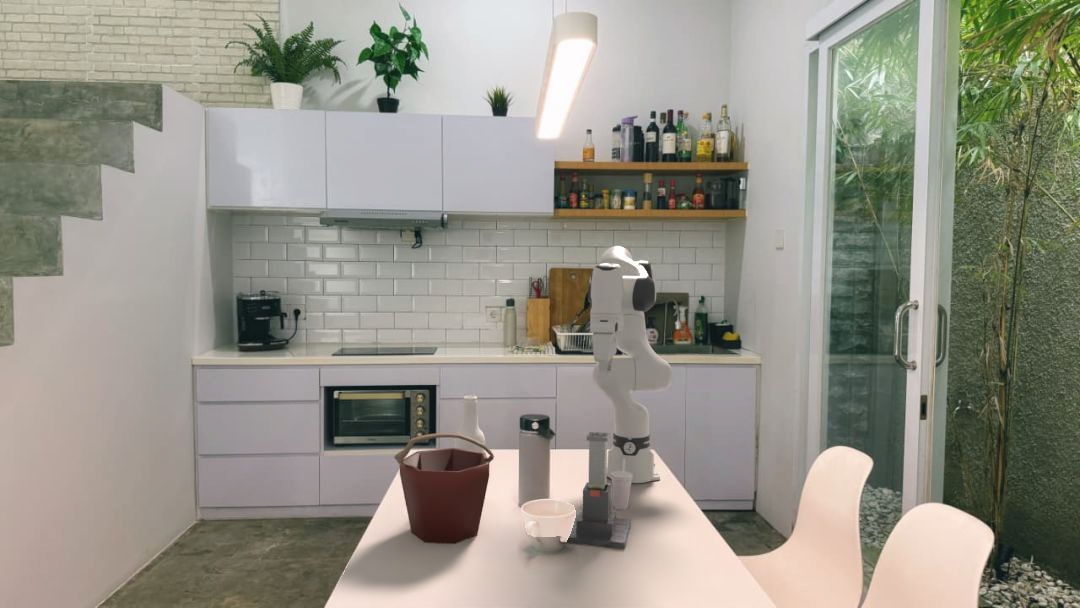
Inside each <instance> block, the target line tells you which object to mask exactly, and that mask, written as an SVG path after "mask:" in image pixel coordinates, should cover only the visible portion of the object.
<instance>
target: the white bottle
mask: <svg viewBox="0 0 1080 608" xmlns="http://www.w3.org/2000/svg"><path fill="white" fill-rule="evenodd" d="M462 403H463V408H462V409H463V410H462V418H461V419H462V420H461V426H460V428H459V430H458V431H457V434H462V435H465V436H468V437H470V438H473V439H475V440H477V441H479V442H481V443H483V444H485V445H486V438H485V435H484V433H483V430H481V429H480V428H479V420H478V406H477V403H478V397H477V396H476V395H465V396H463V401H462ZM454 448H458V449H464V450H470V451H476V452H482V453H486V451H485V450H484V449H483V448H481V447H479V446H477V445H475V444H474V443H471V442H469V441H466V440H463V439H460V438H454Z"/></svg>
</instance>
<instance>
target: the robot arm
mask: <svg viewBox="0 0 1080 608" xmlns="http://www.w3.org/2000/svg"><path fill="white" fill-rule="evenodd" d="M655 282H656V271H655V269H654V266H652V263H651V262H649V261H647V260H638V261H634V259H633V256H632V254H631V252H630V251H629V250H628V249H627V248H625V247H623V246H620V245H614V246H611V247H609V248H607V249H606V250H605V251H604V252H603V253H602V255H601V256H600V258H599V261H598V264H595V265H594V266H593V270H592V271H591V273H590V276H589V283H588V286H587V290H588V292H587V294H588V295H587V300H588V302H589V304H591V308H590V314H589V315H590V317H589V318H590V319H589V320H590V321H589V324H590V325H589V330H590V331H589V332H590V333H592V348H593V349H592V350H593V358H594V362H595V363H596V364H595V365H594V367H593V371H592V379H593V382H594V384H595V386H596V387H597V388H598V389H599V390H600V391H601V392H602V393H604V395H605V396H607V399H608V400H609V402H610V404H611V407H612V410H613V418H614V419H613V420H614V432H613V435H612V447H611V448H610V449H609V450H607V470H606V478H609V479H611V480H612V478H611V477H610V476H611V472H613V471H623V459H625V471H628V472H631V473H632V474H633V478H632V480H631V484H643V483H644V484H645V483H647V482H648V483H649V482H651V481H659V480H661V477H660V476H661V475H660V474H659V472H658V470H657V468H656V463H655V453H653V451H652V449H650V445H651V435H650V434H649V430H650V427H649V426H650V413H649V410H648V409H647V407H646V406H644V404H643V405H642V404H641V403H639V402H637V401H635V400H634V399H632V398H631V397H632V396H631V394H632V393H655V392H662V391H666V390H667V389H668V388H670V386H671V384H672V383H673V380H674V373H673V368H672V366H671V364H670V363H669V362H668V361H667V360H665V359H664V358H662V357H661V356H659V355H658V353H656V352H655V351H654V349H653V348H652V346H651V344H650V341H649V339H648V334H647V328H646V318H645V313H647V312H648V311H649V310H650V309H651V308H653V307H654V306H655V304H656V300H657V287H656V285H655ZM617 350H619V352H622V353H624V354H626V355H627V356H629V357H614V356H615V355H616V354H617Z"/></svg>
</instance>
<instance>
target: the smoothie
mask: <svg viewBox="0 0 1080 608" xmlns="http://www.w3.org/2000/svg"><path fill="white" fill-rule="evenodd" d="M610 477H611V478H612V479H611V478H610V479H611V489H612V494H613V505H614V508H615V509H616V510H621V511H622V510H627V509H628V507H629V500H630V499H629V498H630V493H631V485H632V483H631V480H632V478H633V474H632V473H631V472H628V471H625V459H623V471H613V472H611V476H610Z"/></svg>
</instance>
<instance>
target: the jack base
mask: <svg viewBox="0 0 1080 608" xmlns="http://www.w3.org/2000/svg"><path fill="white" fill-rule="evenodd" d="M588 483H589V481H588V482H586V483H585V485H584V488H583V489H582V508H581V511H580V513H579V514H576V513H575V514H576V518H575V521H574V525H573V528H572V531H571V534H570V536H569V538H568V540H567V543H566V544H573V545H582V546H583V545H584V546H593V547H599V548H600V547H601V548H603V547H604V548H613V549H622V550H625V548H626V546H627V541H628V538H629V534H630V529H631V527H632V526H631V525H632V524H631V523H632V519H629V518H619V517H618V518H617V511H612V483H611V484H610V483H609V484H607V483H606V491H601V490H588Z"/></svg>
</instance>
